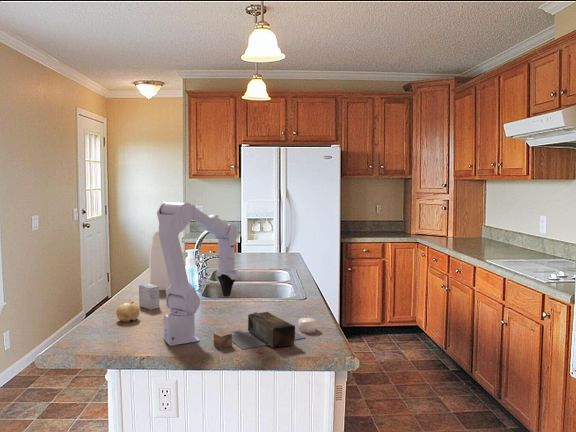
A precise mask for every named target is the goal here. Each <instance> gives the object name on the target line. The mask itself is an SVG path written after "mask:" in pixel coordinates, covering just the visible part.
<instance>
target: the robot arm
mask: <svg viewBox="0 0 576 432" xmlns="http://www.w3.org/2000/svg"><path fill="white" fill-rule="evenodd" d="M156 215H157V219H158V231H159V238H160V242H161V246H162V250H163V255H164V259H165V263H166V268H167V272H168V276H169V281H170V286H169V287H168V288H167V290H165V294H166V297H165V304H166V307H167V308H168V309H169V312H170V313H168V314H165V315H164V316H163V338H162V339H163V340H164V341H165V342H166V344H168V345H169V346H179V345H183V344H189V343H196V342H200V339H199V338H198V337H197V336H196V326H195V325H196V322H195V319H196V318H195V317H196V315H195V314H196V313H197V311H198V310H199V309H200V306H201V305H200V304H201V298H200V296H199V294H198V293H197V290H196V288H195V287H194V286H193V285H192V284H191V283H190V282H189V279H188V275H187V270H186V265H185V260H184V256H183V252H182V247H181V243H180V237H179V235H180V233H182V232H183V231H184V230H185V229H186V227H188V225H189V224H190V223H191V222H192V221H193V222H196V223H198V224H200V225H202V226H203V229H204V230H205V231H206V232H208V233H210V234H212V235H213V236H214V237H215V239H217V243H218V244H217V246H218V247H217V249H218V252H217V253H218V257H217V259H218V266H216V273H218V274H220V275H217V276H216V279H217V280H218V282H219V284H220V288H221V292H222V293H221V294H222V296H223V297H225V298H226V297H230V296H231V293H232V290H233V289H232V288H233V286H234V283H235V282H236V280H238V273H237V272H238V271H239V269H237V268H235V267H236V265H235V263H236V249H235V248H236V245H237V238H239V237H238V236H239V230H238V227H237V226H236V225H235V224H232V223H228V221H227V220H226V219H221V218H220V216H219V215H218V214H210V215H207V214H206V213H205V212H203V211H201V210H200V209H198V208H197V207H196V206H195V205H194V204H191V203H190V202H175V201H174V202H172V201H164V202H162V204H160V206H159V207H158V210H157V211H156Z"/></svg>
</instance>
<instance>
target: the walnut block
mask: <svg viewBox="0 0 576 432" xmlns="http://www.w3.org/2000/svg"><path fill="white" fill-rule="evenodd" d="M232 335H233V333H231V332H229V331H225V330H222V331H217V332H214V333H213V347H215V348H218V349H219V350H224V349H226V348H230V347H233V342H232Z"/></svg>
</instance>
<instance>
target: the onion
mask: <svg viewBox="0 0 576 432" xmlns="http://www.w3.org/2000/svg"><path fill="white" fill-rule="evenodd" d="M115 313H116V317H117V319H118V320H119V321H120V322H121V323H122V322H123V323H129V322H130V321H136V320H137V319H138V318H139V316H140V308H139V306H138V305H137V304H136V303H134V300H131V299H129V301H128V302H124V303H122V304H121V305H119V306H118V307H117V309H116V312H115Z"/></svg>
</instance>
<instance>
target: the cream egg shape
mask: <svg viewBox="0 0 576 432" xmlns="http://www.w3.org/2000/svg"><path fill="white" fill-rule="evenodd" d="M316 331H317V320H316V318H312V317H302V318H299V319H298V332H300V333H305V334H312V332H313V333H316Z"/></svg>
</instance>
